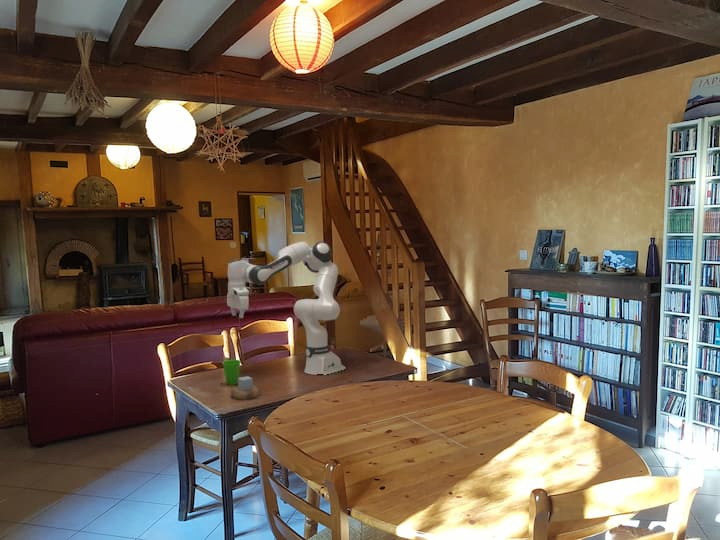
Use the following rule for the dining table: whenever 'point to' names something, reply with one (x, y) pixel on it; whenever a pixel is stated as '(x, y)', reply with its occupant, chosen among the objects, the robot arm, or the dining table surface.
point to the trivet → (245, 393)
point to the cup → (231, 371)
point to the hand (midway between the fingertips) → (237, 316)
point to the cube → (245, 383)
